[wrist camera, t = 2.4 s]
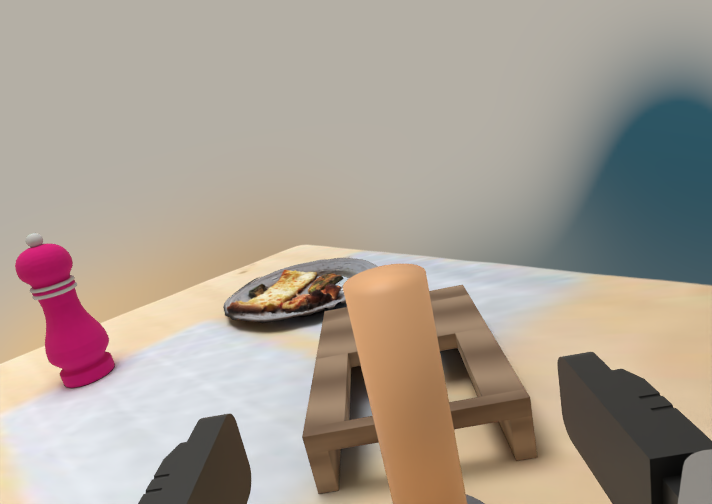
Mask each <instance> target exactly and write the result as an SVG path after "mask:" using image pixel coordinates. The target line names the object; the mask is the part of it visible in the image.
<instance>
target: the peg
mask: <svg viewBox="0 0 712 504" xmlns="http://www.w3.org/2000/svg"><path fill="white" fill-rule="evenodd" d="M343 291H344V295H345V299H346V304H347V308H348V312H349V317H350V321H351V325H352V329H353V334H354V338H355V342H356V347H357V351H358V355H359V359H360V364H361V368H362V372H363V377H364V381H365V385H366V389H367V394H368V398H369V402H370V407H371V411H372V415H373V419H374V424H375V428H376V432H377V437H378V441H379V445H380V449H381V454H382V458H383V462H384V467H385V471H386V475H387V479H388V484H389V488H390V492H391V497H392V501H393V504H484V503H483V502H481V501H480V500H478V499H476V498H474V497H472V496H469V495H466V494H465V489H464V483H463V478H462V472H461V466H460V461H459V455H458V450H457V444H456V438H455V433H454V427H453V422H452V416H451V411H450V405H449V399H448V394H447V388H446V383H445V377H444V372H443V366H442V360H441V355H440V349H439V344H438V338H437V332H436V327H435V321H434V316H433V310H432V305H431V299H430V293H429V288H428V282H427V277H426V271H425V269H424V268H422V267H420V266H418V265H413V264H391V265H384V266H379V267H375V268H371V269H368V270H365V271H363V272H360V273H358V274H356V275H354V276H352V277H351V278H349V279H348V280H347V281H346V282H345V283H344V285H343Z"/></svg>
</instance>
